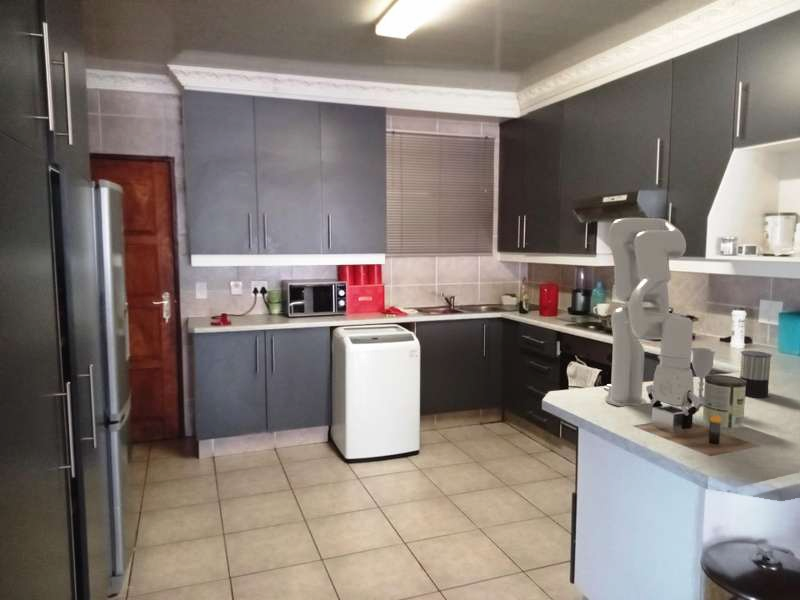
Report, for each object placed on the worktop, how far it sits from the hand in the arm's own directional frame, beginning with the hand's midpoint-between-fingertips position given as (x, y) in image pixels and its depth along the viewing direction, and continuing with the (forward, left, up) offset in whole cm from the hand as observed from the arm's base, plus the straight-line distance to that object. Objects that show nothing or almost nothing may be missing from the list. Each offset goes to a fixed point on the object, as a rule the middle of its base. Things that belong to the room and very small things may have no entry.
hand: (671, 423), depth 154 cm
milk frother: (-22, +60, -3) cm, 64 cm away
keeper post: (+13, 0, -1) cm, 13 cm away
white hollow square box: (0, 0, -1) cm, 1 cm away
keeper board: (+7, 0, -3) cm, 7 cm away
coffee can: (+2, +18, -3) cm, 18 cm away
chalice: (-17, +33, -3) cm, 37 cm away
